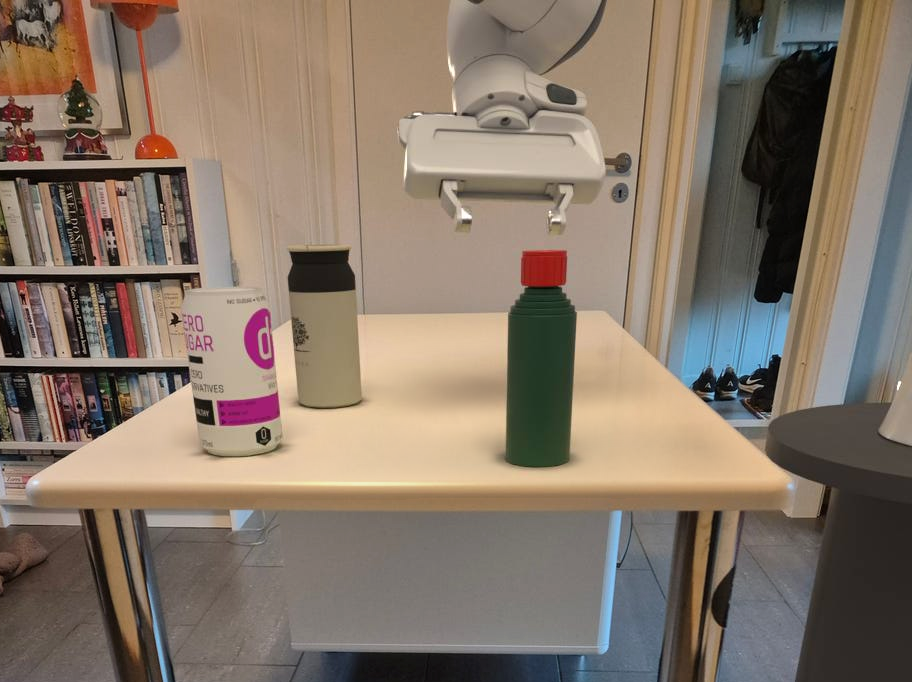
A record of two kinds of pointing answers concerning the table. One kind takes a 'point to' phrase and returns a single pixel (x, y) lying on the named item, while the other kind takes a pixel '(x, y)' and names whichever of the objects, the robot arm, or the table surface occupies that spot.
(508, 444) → the bottle
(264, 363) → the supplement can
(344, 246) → the travel mug
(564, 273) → the cap
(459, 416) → the table surface
